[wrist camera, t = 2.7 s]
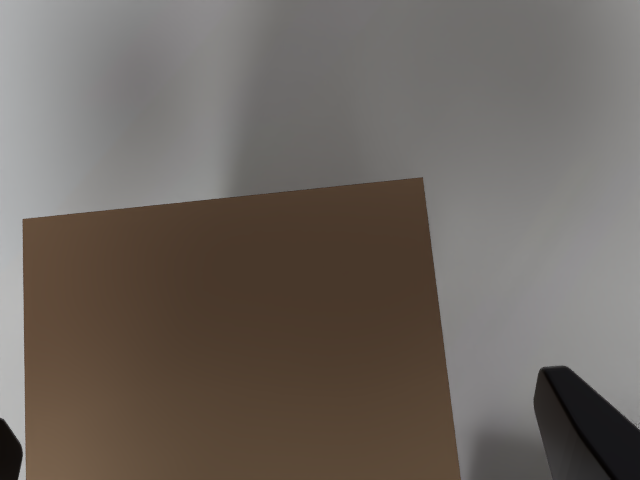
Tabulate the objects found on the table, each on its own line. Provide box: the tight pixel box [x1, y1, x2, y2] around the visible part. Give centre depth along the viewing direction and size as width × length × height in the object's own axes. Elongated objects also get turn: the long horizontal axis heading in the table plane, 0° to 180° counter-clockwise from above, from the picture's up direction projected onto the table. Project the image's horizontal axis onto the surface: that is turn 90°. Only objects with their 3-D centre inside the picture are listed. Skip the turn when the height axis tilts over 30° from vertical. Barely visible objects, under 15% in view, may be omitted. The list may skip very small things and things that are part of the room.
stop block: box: [23, 177, 461, 480], centre depth 12 cm, size 5×5×11 cm
